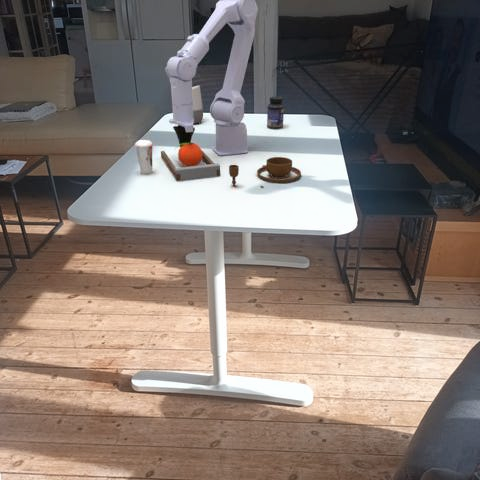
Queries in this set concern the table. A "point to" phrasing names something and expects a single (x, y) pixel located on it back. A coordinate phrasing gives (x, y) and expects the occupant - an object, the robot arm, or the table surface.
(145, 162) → the milkshake
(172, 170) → the lane rails
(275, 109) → the pill bottle
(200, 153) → the clementine
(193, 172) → the stop bar
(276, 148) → the table surface
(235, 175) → the place setting
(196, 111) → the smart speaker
